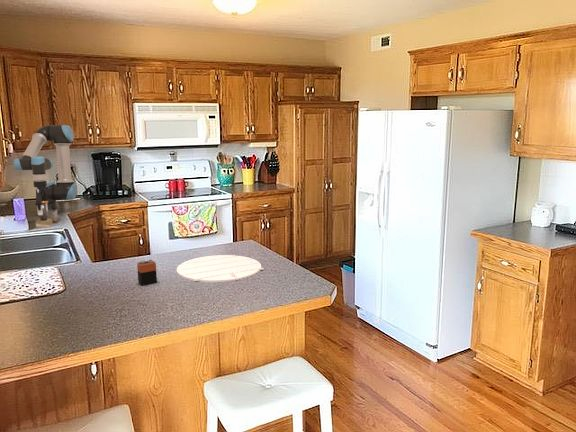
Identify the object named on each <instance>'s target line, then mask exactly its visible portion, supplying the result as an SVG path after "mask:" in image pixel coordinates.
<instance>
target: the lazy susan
mask: <svg viewBox="0 0 576 432" xmlns="http://www.w3.org/2000/svg"><path fill="white" fill-rule="evenodd" d="M264 270H265V269H264V267H262V264H261V263H260V261H259V260H257V259H255V258H251V257H248V256H243V255H233V254H221V255H220V254H216V255H207V256H200V257H196V258H191V259H189V260H186V261H183V262H182V263H180V264H179V265H178V266H176V274H178V276H179V277H181V278H183V279H186V280H190V281H194V282H201V283H224V282H226V281H227V282H234V280H235V281H240V280H243V278H244V279H247V277H248V278H250V276H251V277H253V276H255V275H256V273H257V274H258V273H260V271H264ZM239 279H240V280H239ZM227 282H226V283H227Z"/></svg>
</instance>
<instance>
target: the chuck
mask: <svg viewBox="0 0 576 432" xmlns="http://www.w3.org/2000/svg"><path fill="white" fill-rule="evenodd" d="M46 212H47V219H52V224H58V223H59V222H60V221H61V220H62V218H61V217H59V216H58V215H59V214H57V210H48V211H46Z"/></svg>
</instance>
